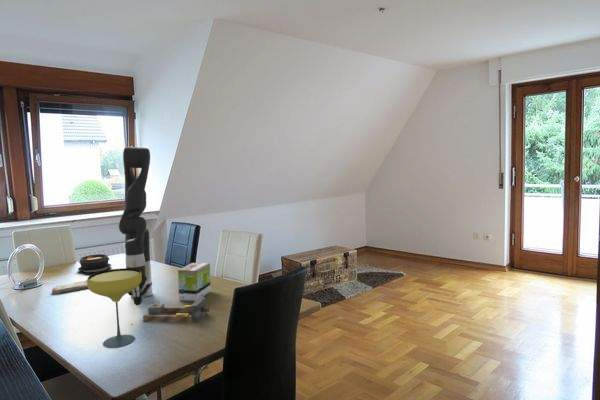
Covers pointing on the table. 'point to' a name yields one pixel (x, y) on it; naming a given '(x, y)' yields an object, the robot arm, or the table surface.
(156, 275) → the table surface
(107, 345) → the cocktail glass
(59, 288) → the elongated rock
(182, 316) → the guide channel
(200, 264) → the tea box
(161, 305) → the dice cube
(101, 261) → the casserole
